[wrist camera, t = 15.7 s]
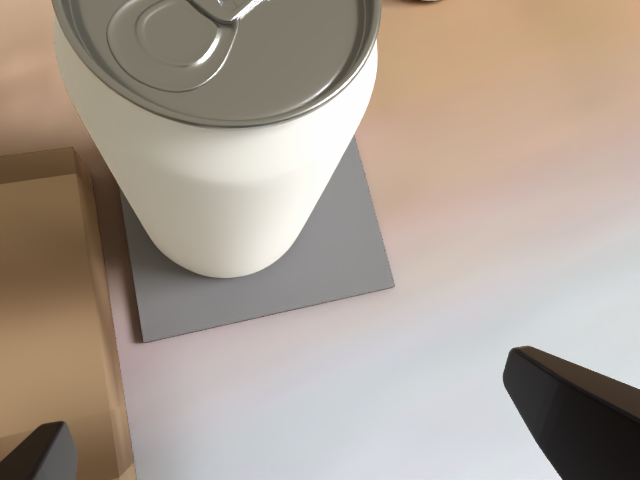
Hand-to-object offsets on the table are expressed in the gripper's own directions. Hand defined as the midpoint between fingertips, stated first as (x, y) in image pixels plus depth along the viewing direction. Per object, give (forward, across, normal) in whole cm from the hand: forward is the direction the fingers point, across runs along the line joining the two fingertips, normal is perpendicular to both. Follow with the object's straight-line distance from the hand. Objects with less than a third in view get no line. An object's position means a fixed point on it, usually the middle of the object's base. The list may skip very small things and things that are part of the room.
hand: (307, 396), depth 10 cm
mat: (+12, 0, -1) cm, 12 cm away
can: (+12, -1, -1) cm, 12 cm away
